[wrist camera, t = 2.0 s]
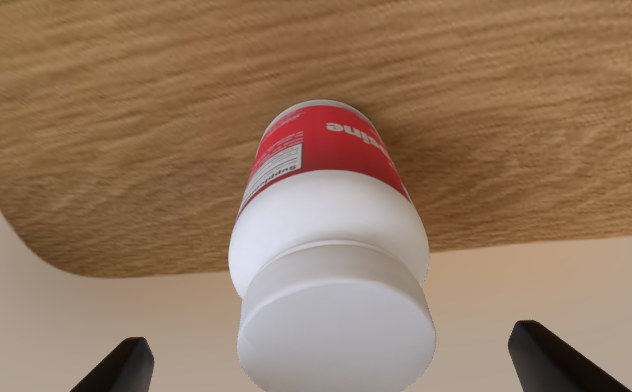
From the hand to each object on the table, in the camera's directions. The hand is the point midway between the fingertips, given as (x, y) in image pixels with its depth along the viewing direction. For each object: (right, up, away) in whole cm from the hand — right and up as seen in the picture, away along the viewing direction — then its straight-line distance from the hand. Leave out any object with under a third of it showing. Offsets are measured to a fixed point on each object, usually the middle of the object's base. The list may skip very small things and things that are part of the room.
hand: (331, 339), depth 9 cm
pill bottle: (0, +6, +9) cm, 11 cm away
